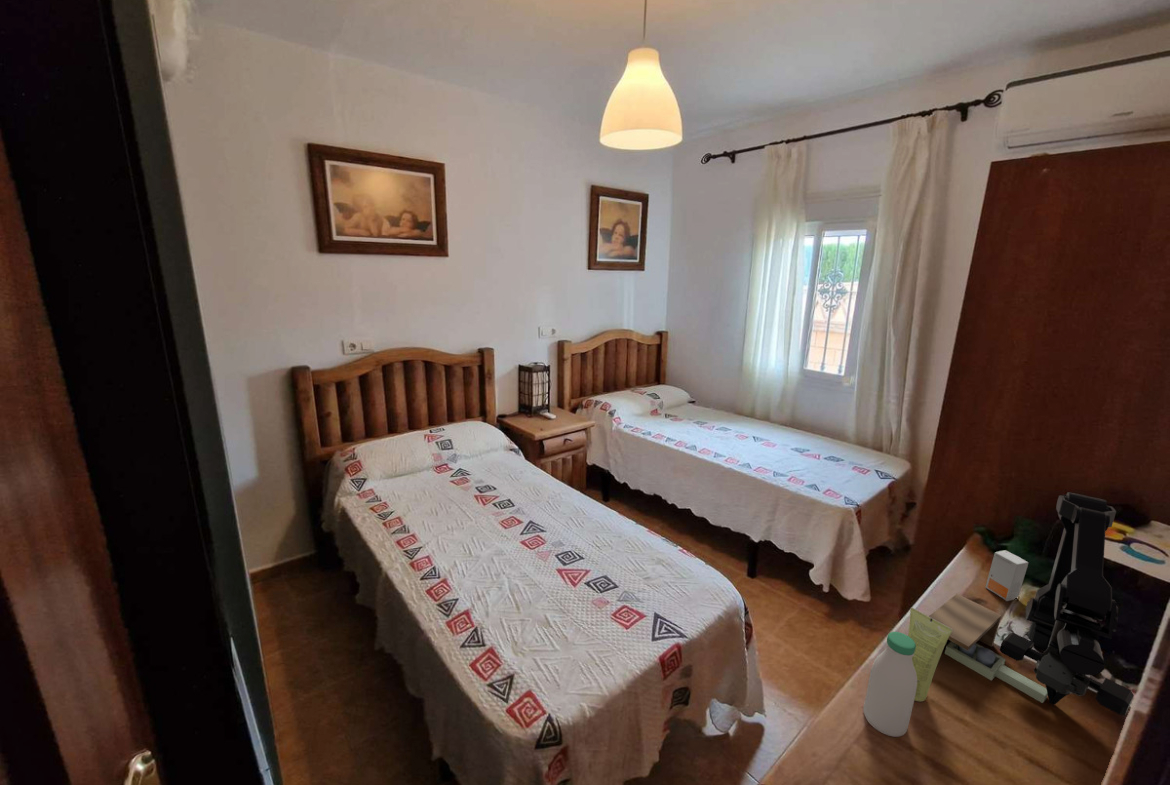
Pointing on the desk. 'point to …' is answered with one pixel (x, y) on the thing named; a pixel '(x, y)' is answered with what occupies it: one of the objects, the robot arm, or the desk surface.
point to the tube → (926, 648)
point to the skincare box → (1006, 575)
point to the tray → (998, 672)
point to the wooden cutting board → (968, 621)
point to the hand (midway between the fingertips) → (1052, 703)
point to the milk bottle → (892, 686)
